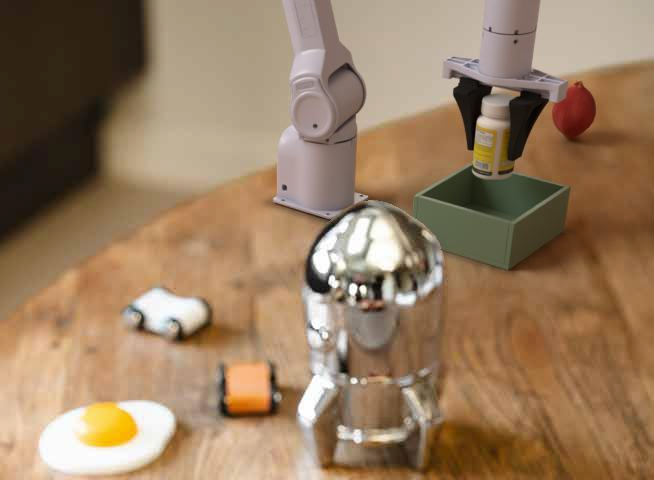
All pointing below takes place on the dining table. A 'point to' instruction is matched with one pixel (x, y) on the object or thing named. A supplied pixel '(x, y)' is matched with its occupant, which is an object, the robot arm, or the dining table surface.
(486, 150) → the supplement bottle
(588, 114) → the onion
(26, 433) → the dining table surface
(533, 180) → the bin
